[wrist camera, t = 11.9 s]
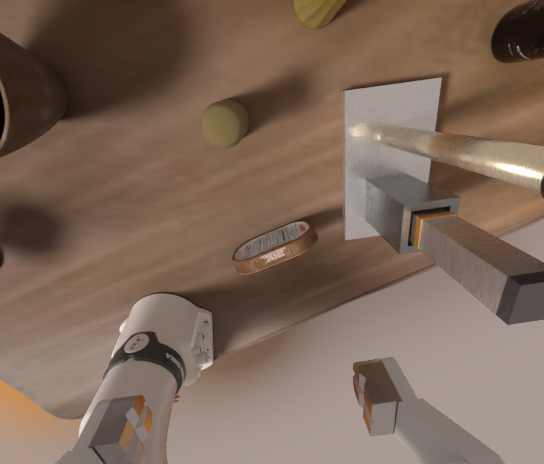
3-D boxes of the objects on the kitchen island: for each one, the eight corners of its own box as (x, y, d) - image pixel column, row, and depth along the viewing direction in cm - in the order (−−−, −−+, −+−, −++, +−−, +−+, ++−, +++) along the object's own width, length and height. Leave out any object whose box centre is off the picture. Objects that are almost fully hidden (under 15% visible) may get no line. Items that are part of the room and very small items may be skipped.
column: (418, 222, 40) (556, 318, 22) (391, 226, 40) (506, 325, 22) (421, 195, 39) (574, 276, 20) (393, 200, 39) (520, 284, 20)
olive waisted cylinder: (252, 103, 40) (252, 103, 30) (246, 145, 42) (244, 158, 32) (210, 95, 39) (196, 91, 29) (207, 138, 41) (193, 149, 31)
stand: (415, 224, 50) (591, 351, 24) (342, 235, 50) (439, 374, 24) (433, 78, 40) (771, 28, 14) (340, 91, 40) (508, 64, 14)
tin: (238, 257, 51) (236, 284, 43) (230, 244, 49) (227, 269, 42) (312, 226, 49) (324, 248, 41) (307, 212, 48) (317, 232, 40)
